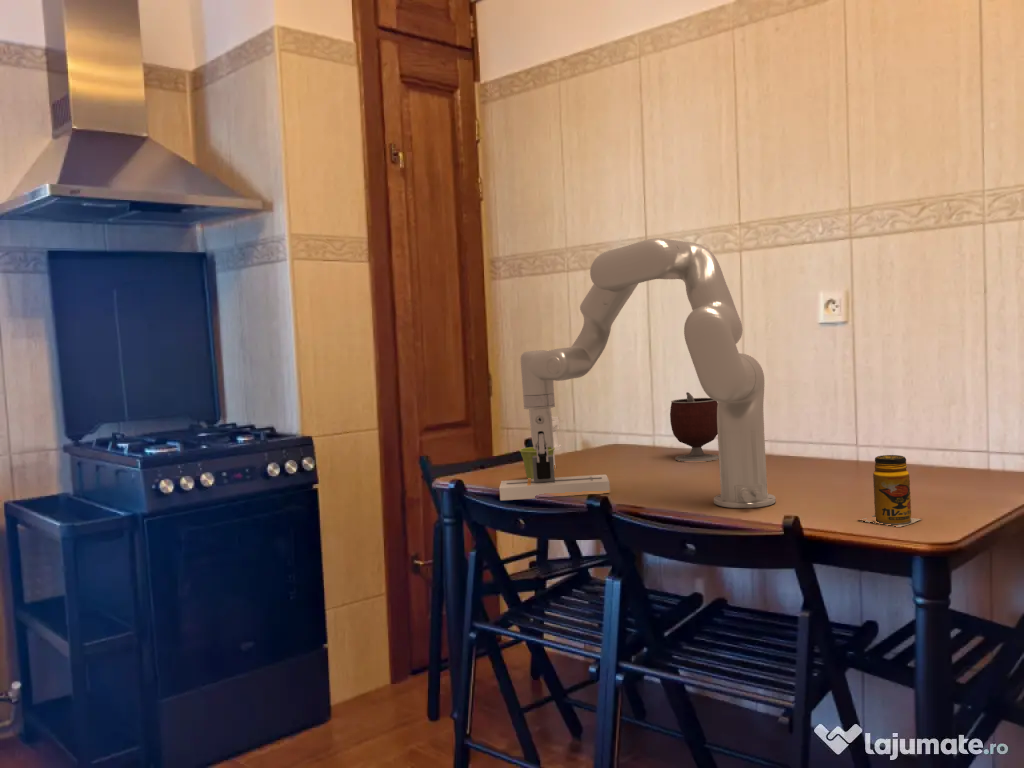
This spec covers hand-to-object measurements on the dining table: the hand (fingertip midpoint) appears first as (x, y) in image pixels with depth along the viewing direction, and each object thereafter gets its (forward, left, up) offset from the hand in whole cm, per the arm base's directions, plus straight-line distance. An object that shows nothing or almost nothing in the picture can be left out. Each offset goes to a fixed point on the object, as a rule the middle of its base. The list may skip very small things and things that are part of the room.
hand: (544, 476), depth 205 cm
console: (0, -2, -4) cm, 5 cm away
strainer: (+39, -1, -4) cm, 39 cm away
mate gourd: (+39, -43, -4) cm, 59 cm away
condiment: (-47, -63, -5) cm, 79 cm away
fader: (0, 0, -1) cm, 1 cm away
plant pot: (+19, +2, -5) cm, 20 cm away
